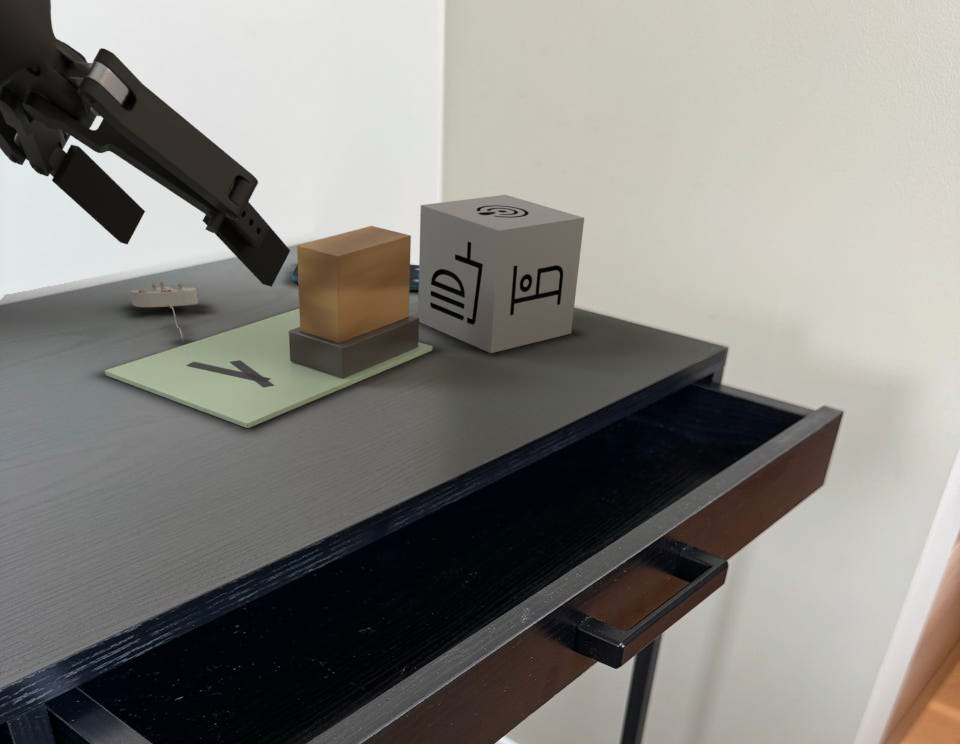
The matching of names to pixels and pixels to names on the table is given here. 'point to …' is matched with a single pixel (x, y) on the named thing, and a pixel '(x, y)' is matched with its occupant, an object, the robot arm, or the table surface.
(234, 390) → the marker board
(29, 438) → the table surface
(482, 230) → the icon cube
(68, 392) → the table surface
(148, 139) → the robot arm
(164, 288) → the game controller
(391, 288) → the eraser
